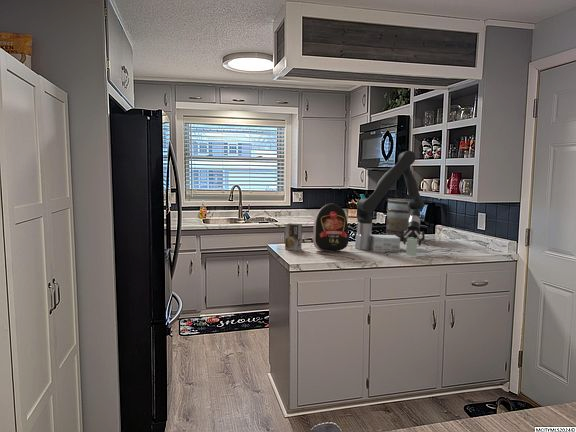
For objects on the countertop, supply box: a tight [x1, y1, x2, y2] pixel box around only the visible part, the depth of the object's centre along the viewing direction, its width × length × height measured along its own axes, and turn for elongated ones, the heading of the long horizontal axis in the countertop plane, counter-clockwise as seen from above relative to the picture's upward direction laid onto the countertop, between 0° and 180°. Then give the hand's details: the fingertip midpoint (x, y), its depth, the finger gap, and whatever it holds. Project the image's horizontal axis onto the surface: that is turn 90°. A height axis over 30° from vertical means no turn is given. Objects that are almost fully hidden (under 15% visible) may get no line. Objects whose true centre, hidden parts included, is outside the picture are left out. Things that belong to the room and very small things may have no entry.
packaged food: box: [312, 202, 350, 252], centre depth 268 cm, size 22×20×30 cm
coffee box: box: [284, 222, 303, 251], centre depth 270 cm, size 9×6×16 cm
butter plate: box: [396, 251, 426, 259], centre depth 265 cm, size 12×12×4 cm
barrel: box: [385, 198, 414, 242], centre depth 327 cm, size 22×22×30 cm
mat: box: [417, 248, 432, 254], centre depth 278 cm, size 12×12×1 cm
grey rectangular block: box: [405, 237, 418, 257], centre depth 265 cm, size 9×6×10 cm, turn 162°
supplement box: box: [370, 234, 401, 253], centre depth 280 cm, size 17×13×9 cm
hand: (412, 244), depth 264 cm, fingers open, 8 cm apart
